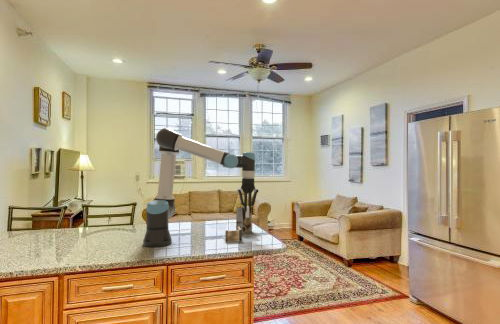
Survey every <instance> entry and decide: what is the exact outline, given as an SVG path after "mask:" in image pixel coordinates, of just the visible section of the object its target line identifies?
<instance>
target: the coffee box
mask: <svg viewBox="0 0 500 324" xmlns="http://www.w3.org/2000/svg"><path fill="white" fill-rule="evenodd" d="M235 209H236V217H235V220H236V221H235V226H236V227H235V229H236V230H237V226H240V229H241V230H242V234H245V233H246V234H247V233H250V232H252V231H253V221H252V220H253V218H252V217H253V206H251V212H249V218H246V212H244V206H238V207H236V208H235Z"/></svg>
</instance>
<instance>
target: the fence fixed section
mask: <svg viewBox="0 0 500 324" xmlns="http://www.w3.org/2000/svg"><path fill="white" fill-rule="evenodd" d="M224 232H225V235H224V236H225V241H226V242H227V241H236V240H239V241H242V235H243V233H242V230H241V229H240V230H225V231H224ZM225 241H224V242H225ZM226 242H225V243H226Z"/></svg>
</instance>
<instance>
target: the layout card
mask: <svg viewBox="0 0 500 324" xmlns="http://www.w3.org/2000/svg"><path fill="white" fill-rule="evenodd" d="M221 237H222V239H223V240H224V242H225V244H230V243H233V244H234V243H246V242H247V243H248V242H249V243H250V242H252V243H253V242H261V240H260V239H259V238H258V237H257V236H256V235H255V234H242V241H239V240H236V241H227V242H226V241H225V235H221Z"/></svg>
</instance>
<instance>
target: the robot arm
mask: <svg viewBox="0 0 500 324" xmlns="http://www.w3.org/2000/svg"><path fill="white" fill-rule="evenodd" d="M155 140H156V142H157V145H158V146H159V147H158V152H159V153H160V155H161V156H160V165H159V175H158V176H159V178H158V186H157V195H155V196H154V200H151V201H148V203H146V209H145V211H146V232H145V234H144V236H143V237H144V238H143V241H142V245H143V246H144V247H147V248H161V247H167V246H169V245H171V244H172V236H171V234H170V230H169V219H171V218H172V217H173V216H174V214H175V213H176V212H175V211H176V205H175V200H176V199H175V198H176V197H175V196H174V195H173V193H174V183H175V182H174V181H175V171H176V160H177V155H179V153H180V151H181V152H183V153H187V154H190V155H193V156H196V157H198V158H201V159H204V160H208V161H210V162H212V163H215V164H218V165H221V166H222V167H223V168H227V169H236V168H237V169H241V168H242V171H241V172H242V173H241V177H242V178H241V186H240V188H238V189H237V193H238V195H239V201H240V204H241V206H242V207H244V212H246V218H249V212H251V207H253V206H254V205H255V203H256V198H257V194H258V193H259V192H260V191H259V189H257V188H256V186H255V174H256V173H255V169H256V155H255V154H256V153H254V152H252V151H250V152H249V151H248V152H247V151H243V152H242V154H241V155H238V154H237V155H236V154H233V153H229V152H226V151H224V150H222V149H218V148H215V147H213V146H209V145H207V144H203V143H201V142H199V141H196V140H194V139H190V138H188V137H184V136H183V135H182V134H181V133H179V132H178V131H177V130H175V129H172V128H169V127H164V128H162V129H161V128H160V130H158V132H157V133H156V137H155ZM242 192H243V193H242Z"/></svg>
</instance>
